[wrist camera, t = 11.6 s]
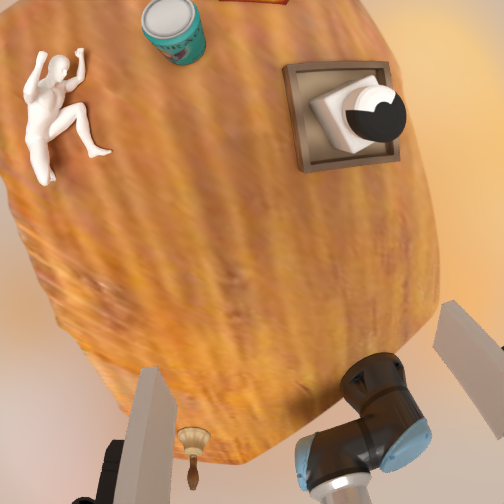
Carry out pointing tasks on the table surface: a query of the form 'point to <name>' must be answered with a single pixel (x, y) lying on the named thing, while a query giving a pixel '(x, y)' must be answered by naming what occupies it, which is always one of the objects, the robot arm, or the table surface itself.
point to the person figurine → (54, 112)
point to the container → (360, 114)
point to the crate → (307, 125)
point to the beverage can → (174, 30)
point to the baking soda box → (262, 1)
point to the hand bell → (193, 450)
